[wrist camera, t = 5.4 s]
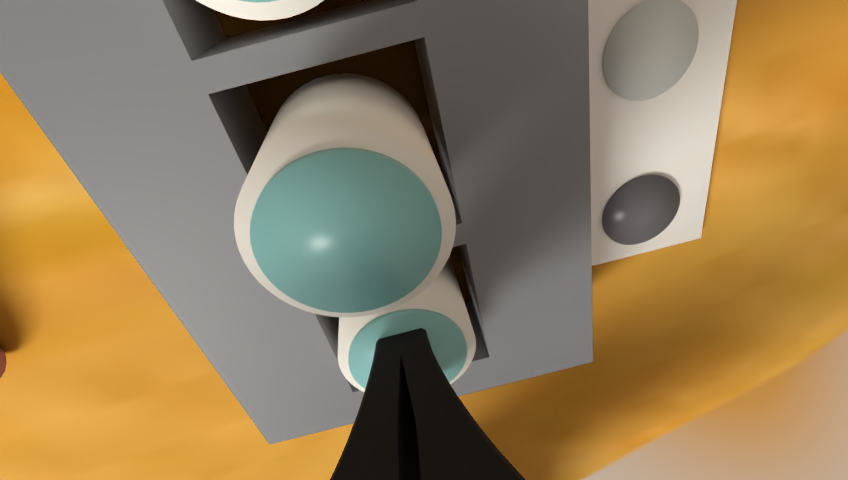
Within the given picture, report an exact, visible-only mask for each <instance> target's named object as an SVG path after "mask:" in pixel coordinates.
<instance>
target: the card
mask: <svg viewBox="0 0 848 480" xmlns="http://www.w3.org/2000/svg"><path fill="white" fill-rule="evenodd" d="M736 3H737V0H588V23H589V99H590V174H591V250H592V266H594V265H598V264H602V263H606V262H610V261H614V260H618V259H622V258H625V257H629V256H633V255H637V254H641V253H645V252H649V251H653V250H656V249H660V248H664V247H668V246H672V245H676V244H680V243H683V242H687V241H691V240H695V239H699V238H701V234H702V227H703V221H704V214H705V208H706V201H707V194H708V188H709V181H710V175H711V168H712V161H713V155H714V148H715V142H716V135H717V129H718V122H719V115H720V109H721V102H722V96H723V89H724V82H725V76H726V69H727V63H728V56H729V50H730V43H731V36H732V30H733V23H734V17H735V10H736Z"/></svg>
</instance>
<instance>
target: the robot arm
mask: <svg viewBox="0 0 848 480" xmlns="http://www.w3.org/2000/svg"><path fill="white" fill-rule="evenodd" d="M330 480H525V479H524V478H523V477H522V476H521V474H520V473H519V472H518V471H517V470H516V469H515V468H514V467H513V466H512V465H511V464H510V462H509V461H508V460H507V459H506V458H505V457H504V456H503V455H502V454H501V452H500V451H499V450H498V449H497V448H496V447H495V445H494V444H493V443H492V442H491V441H490V439H489V438H488V437H487V436H486V434H485V433H484V432H483V431H482V429H481V428H480V427H479V425H478V424H477V423H476V421H475V420H474V419H473V417H472V416H471V415H470V413H469V412H468V410H467V409H466V408H465V406H464V405H463V403H462V402H461V400H460V399H459V397H458V396H457V394H456V393H455V391H454V390H453V388H452V386H451V385H450V383H449V381H448V380H447V378H446V376H445V374H444V373H443V371H442V369H441V367H440V365H439V364H438V362H437V359H436V357H435V355H434V353H433V351H432V348H431V345H430V342H429V339H428V335H427V332H426V330H425V329H423V328H419V329H415V330H411V331H407V332H403V333H400V334H396V335H392V336H388V337H384V338H380V339H378V341H377V342H376V347H375V352H374V357H373V362H372V366H371V370H370V374H369V378H368V382H367V385H366V388H365V392H364V395H363V398H362V402H361V405H360V408H359V411H358V414H357V416H356V419H355V422H354V425H353V427H352V430H351V433H350V436H349V438H348V441H347V443H346V446H345V448H344V450H343V453H342V455H341V457H340V460H339V462H338V464H337V466H336V469H335V471H334V473H333V475H332V477H331V479H330Z"/></svg>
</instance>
